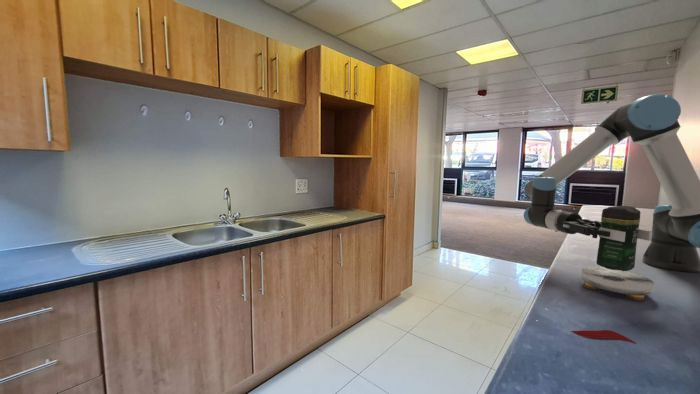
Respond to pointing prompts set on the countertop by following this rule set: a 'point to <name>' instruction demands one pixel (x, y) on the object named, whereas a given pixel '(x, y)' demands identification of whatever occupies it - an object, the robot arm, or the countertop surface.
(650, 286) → the plate
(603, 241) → the coffee jar
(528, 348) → the countertop surface
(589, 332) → the curved red sliver
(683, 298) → the countertop surface
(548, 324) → the countertop surface
